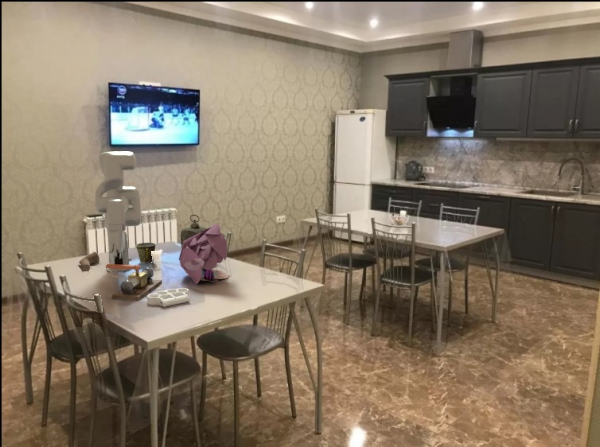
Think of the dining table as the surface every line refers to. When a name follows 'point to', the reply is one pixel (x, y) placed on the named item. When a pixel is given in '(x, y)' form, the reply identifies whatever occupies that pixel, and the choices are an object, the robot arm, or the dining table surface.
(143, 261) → the ceramic cup
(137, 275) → the water pipe
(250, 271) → the dining table surface
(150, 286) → the valve board
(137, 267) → the lever
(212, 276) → the flower arrangement
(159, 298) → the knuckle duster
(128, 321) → the dining table surface
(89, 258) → the pipe
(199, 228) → the tabletop clock
